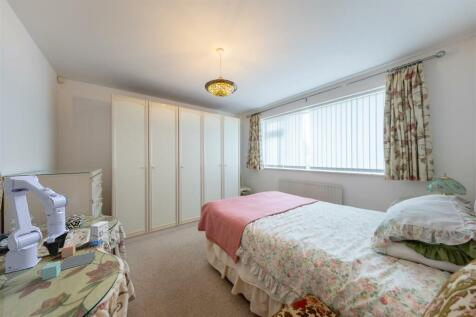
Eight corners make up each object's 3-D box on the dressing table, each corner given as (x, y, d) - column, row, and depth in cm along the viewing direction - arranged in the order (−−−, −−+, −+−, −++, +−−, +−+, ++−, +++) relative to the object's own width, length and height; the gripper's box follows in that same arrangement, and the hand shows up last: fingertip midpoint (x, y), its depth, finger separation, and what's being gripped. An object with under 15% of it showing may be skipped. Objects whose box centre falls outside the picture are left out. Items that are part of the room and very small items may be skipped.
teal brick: (42, 280, 76) (41, 269, 76) (46, 274, 80) (46, 263, 80) (56, 277, 78) (56, 265, 78) (60, 271, 82) (60, 260, 82)
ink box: (98, 245, 105) (97, 226, 105) (89, 245, 105) (89, 226, 105) (108, 238, 114) (108, 220, 114) (101, 238, 114) (100, 220, 114)
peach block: (61, 258, 93) (61, 248, 93) (64, 254, 97) (64, 245, 97) (73, 255, 95) (72, 246, 95) (75, 251, 99) (75, 242, 99)
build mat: (57, 271, 82) (57, 270, 82) (66, 258, 92) (66, 257, 92) (90, 263, 88) (90, 262, 88) (95, 251, 98) (95, 251, 98)
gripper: (62, 225, 77) (63, 256, 77) (72, 216, 89) (73, 242, 89) (39, 229, 73) (40, 262, 73) (53, 218, 85) (54, 246, 86)
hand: (57, 251), depth 81 cm, fingers open, 7 cm apart
